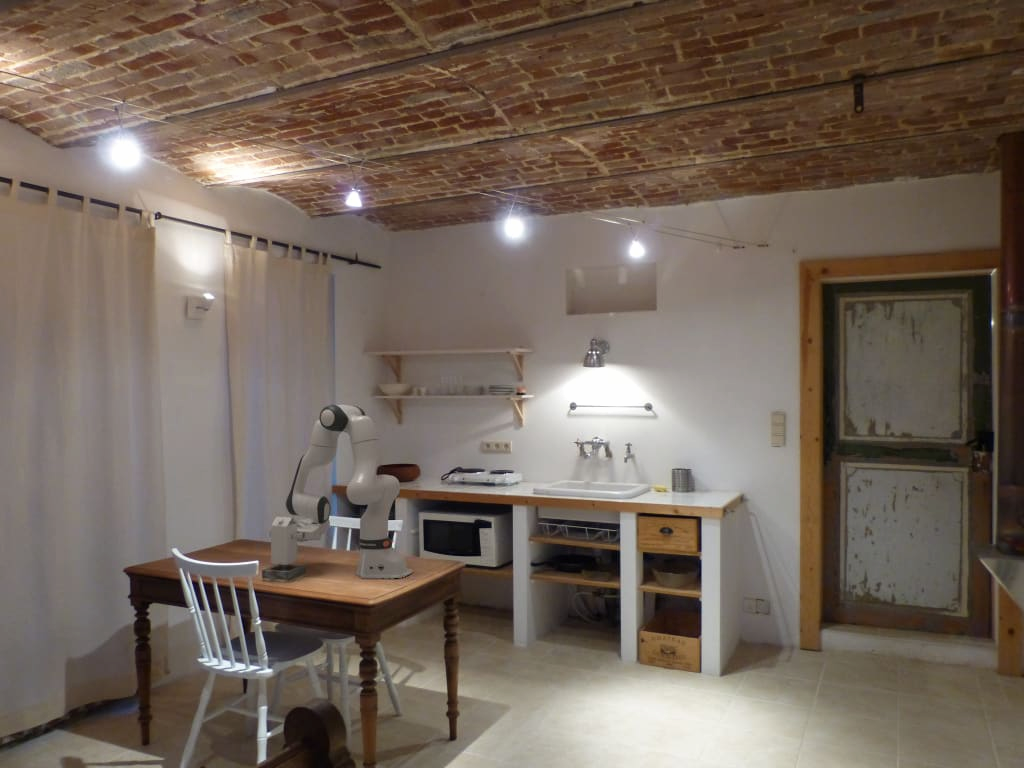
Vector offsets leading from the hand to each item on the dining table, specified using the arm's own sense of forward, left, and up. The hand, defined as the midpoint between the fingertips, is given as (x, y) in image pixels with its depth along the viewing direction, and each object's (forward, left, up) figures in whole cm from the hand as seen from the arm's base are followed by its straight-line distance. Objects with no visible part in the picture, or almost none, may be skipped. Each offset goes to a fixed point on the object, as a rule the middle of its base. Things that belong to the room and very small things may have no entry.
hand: (283, 536), depth 298 cm
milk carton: (0, -1, -10) cm, 11 cm away
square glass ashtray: (0, -1, -16) cm, 16 cm away
